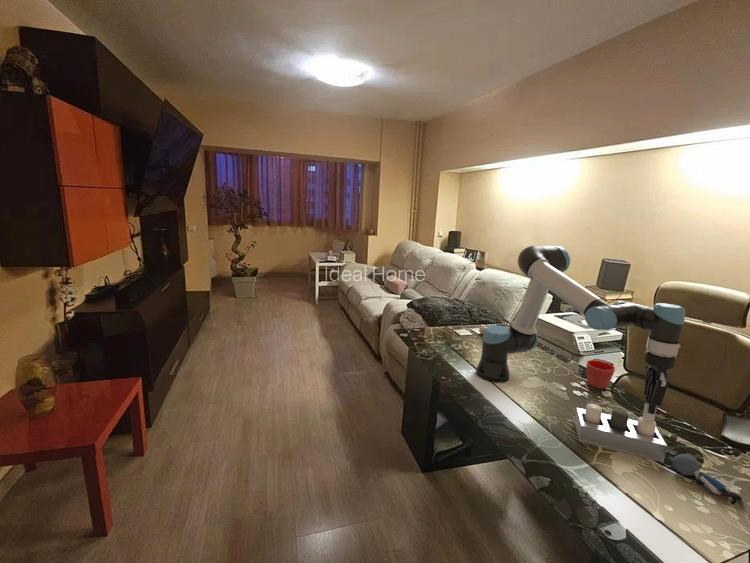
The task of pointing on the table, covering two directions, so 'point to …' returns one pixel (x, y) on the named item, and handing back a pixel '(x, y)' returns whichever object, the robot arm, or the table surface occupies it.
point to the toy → (701, 475)
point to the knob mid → (619, 419)
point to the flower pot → (599, 373)
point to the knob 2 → (645, 428)
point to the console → (620, 437)
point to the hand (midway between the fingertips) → (647, 420)
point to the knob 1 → (593, 414)
